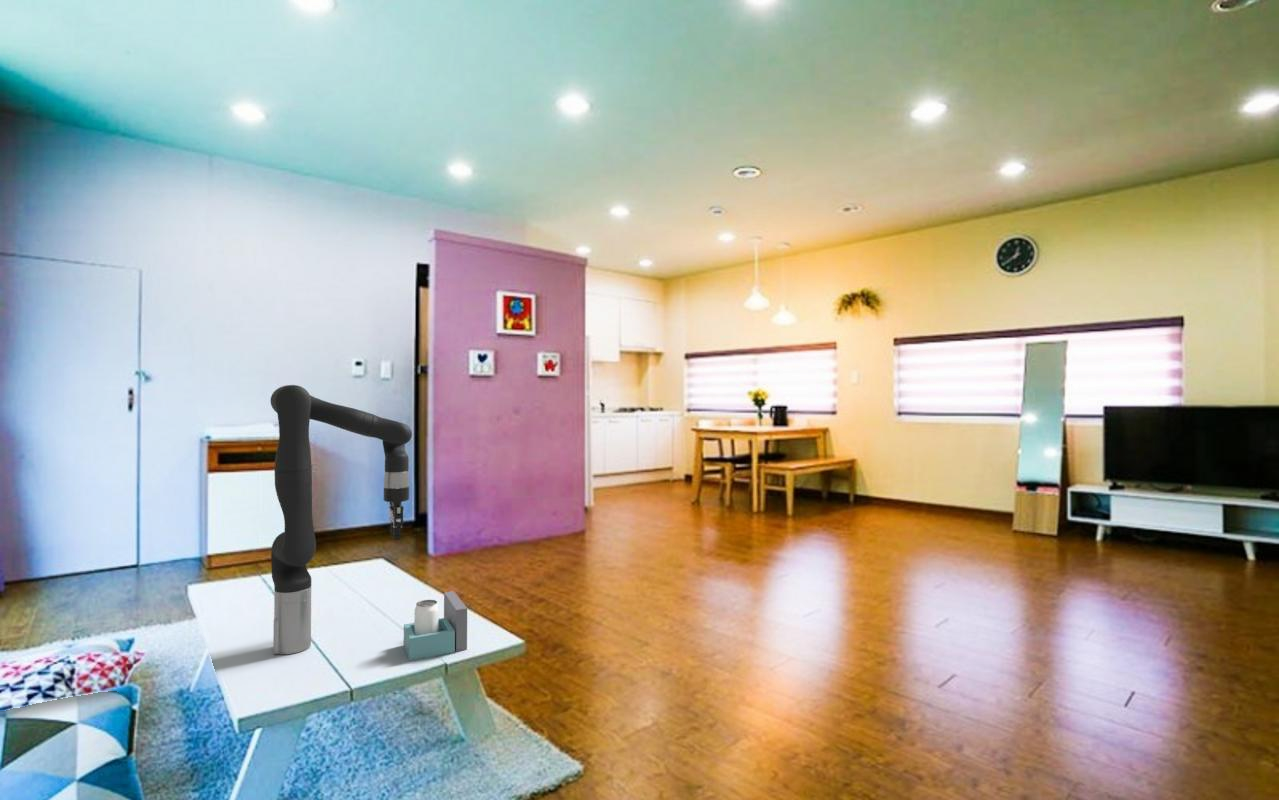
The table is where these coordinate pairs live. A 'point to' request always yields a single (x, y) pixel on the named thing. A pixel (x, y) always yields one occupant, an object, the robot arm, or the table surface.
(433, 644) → the socket block
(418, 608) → the can
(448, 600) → the wall board
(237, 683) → the table surface
